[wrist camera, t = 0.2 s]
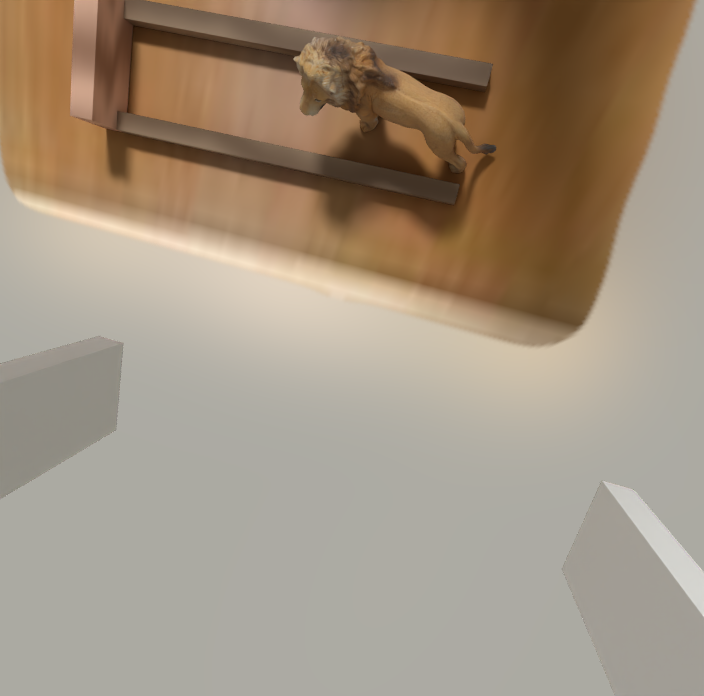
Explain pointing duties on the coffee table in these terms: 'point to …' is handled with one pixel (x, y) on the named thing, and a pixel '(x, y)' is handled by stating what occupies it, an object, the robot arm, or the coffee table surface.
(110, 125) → the track
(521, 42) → the coffee table surface
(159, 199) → the coffee table surface
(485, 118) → the coffee table surface
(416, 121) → the lion figurine
